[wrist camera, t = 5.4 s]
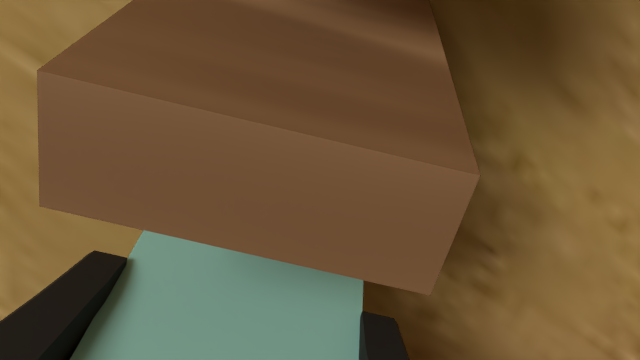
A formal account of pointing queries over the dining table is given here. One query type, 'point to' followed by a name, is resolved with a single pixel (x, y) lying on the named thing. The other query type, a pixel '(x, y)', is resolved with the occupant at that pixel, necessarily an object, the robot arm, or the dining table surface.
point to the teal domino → (222, 308)
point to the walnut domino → (265, 132)
